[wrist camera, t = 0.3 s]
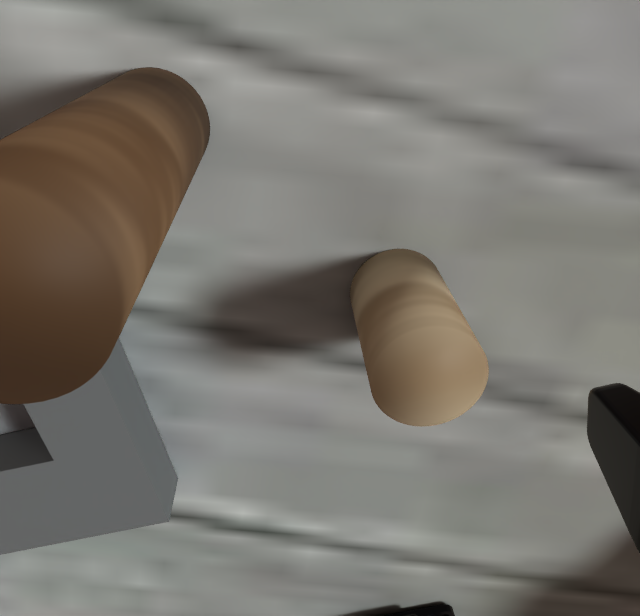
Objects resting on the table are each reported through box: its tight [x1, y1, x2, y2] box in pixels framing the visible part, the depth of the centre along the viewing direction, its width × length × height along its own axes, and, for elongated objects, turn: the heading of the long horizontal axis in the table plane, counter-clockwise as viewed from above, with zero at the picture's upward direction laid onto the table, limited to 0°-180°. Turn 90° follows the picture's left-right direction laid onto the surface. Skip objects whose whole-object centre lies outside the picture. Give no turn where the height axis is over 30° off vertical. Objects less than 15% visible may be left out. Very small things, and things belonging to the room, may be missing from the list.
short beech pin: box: [350, 249, 489, 426], centre depth 21 cm, size 4×4×6 cm
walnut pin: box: [0, 67, 210, 404], centre depth 15 cm, size 4×4×13 cm
